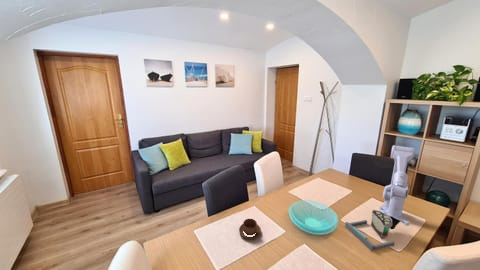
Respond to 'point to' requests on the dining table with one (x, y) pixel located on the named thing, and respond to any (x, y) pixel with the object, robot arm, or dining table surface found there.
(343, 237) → the dining table surface
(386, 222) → the food container
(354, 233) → the grey piece
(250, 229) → the cup and saucer
